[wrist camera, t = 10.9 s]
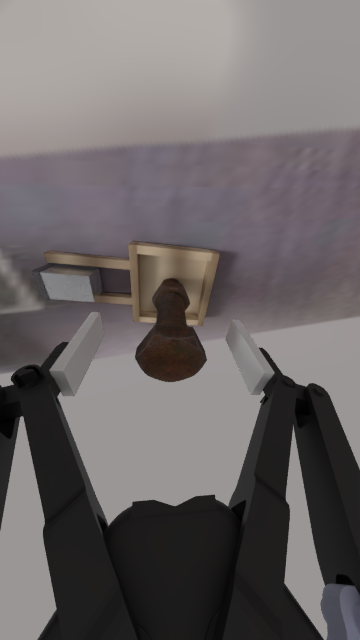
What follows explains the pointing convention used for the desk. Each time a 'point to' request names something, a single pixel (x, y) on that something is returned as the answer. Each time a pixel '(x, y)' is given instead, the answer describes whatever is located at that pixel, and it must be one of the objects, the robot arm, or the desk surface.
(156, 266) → the socket
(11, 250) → the desk surface
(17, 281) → the desk surface
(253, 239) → the desk surface
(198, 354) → the bolt
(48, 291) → the grey rectangular block
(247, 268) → the desk surface
